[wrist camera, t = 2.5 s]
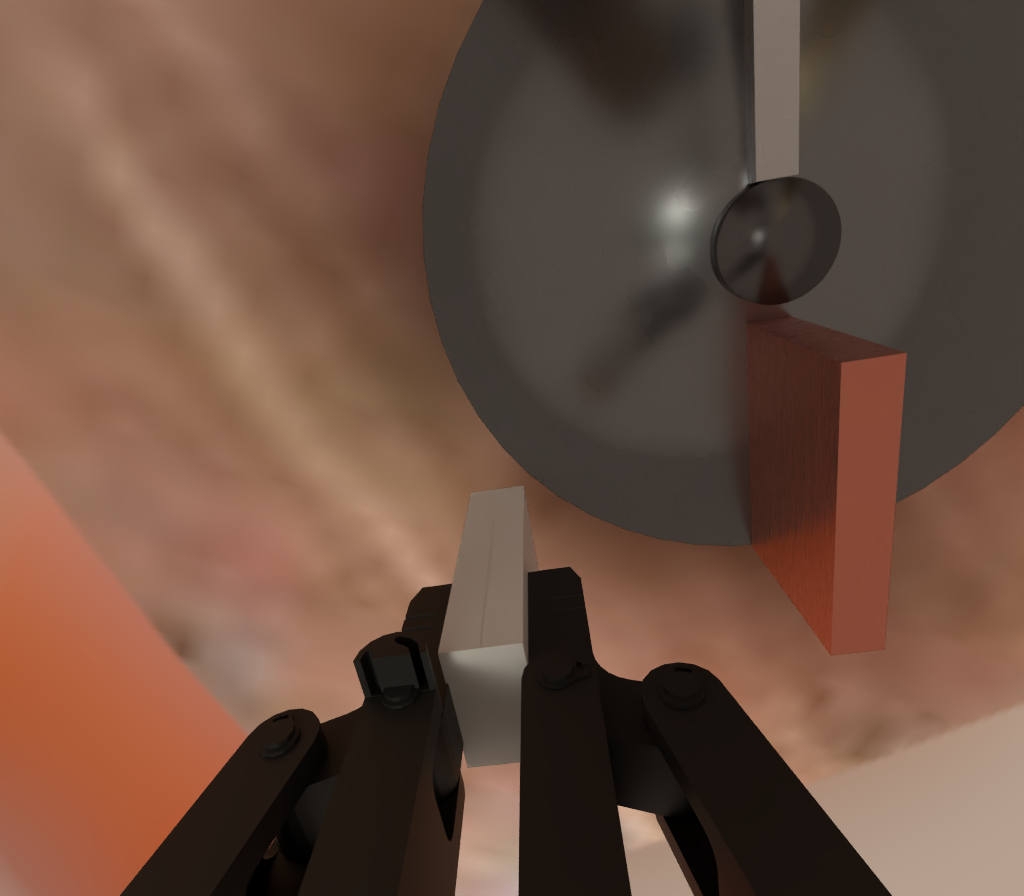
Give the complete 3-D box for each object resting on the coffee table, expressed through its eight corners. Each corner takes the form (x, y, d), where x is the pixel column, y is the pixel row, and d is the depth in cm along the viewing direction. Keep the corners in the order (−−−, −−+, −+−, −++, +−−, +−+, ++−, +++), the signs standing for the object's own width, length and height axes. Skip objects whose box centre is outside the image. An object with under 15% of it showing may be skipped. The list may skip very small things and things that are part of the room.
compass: (365, -72, 14) (230, -329, 8) (1136, -247, 13) (1765, -740, 6) (492, 548, 21) (477, 696, 14) (1021, 476, 19) (1280, 603, 13)
